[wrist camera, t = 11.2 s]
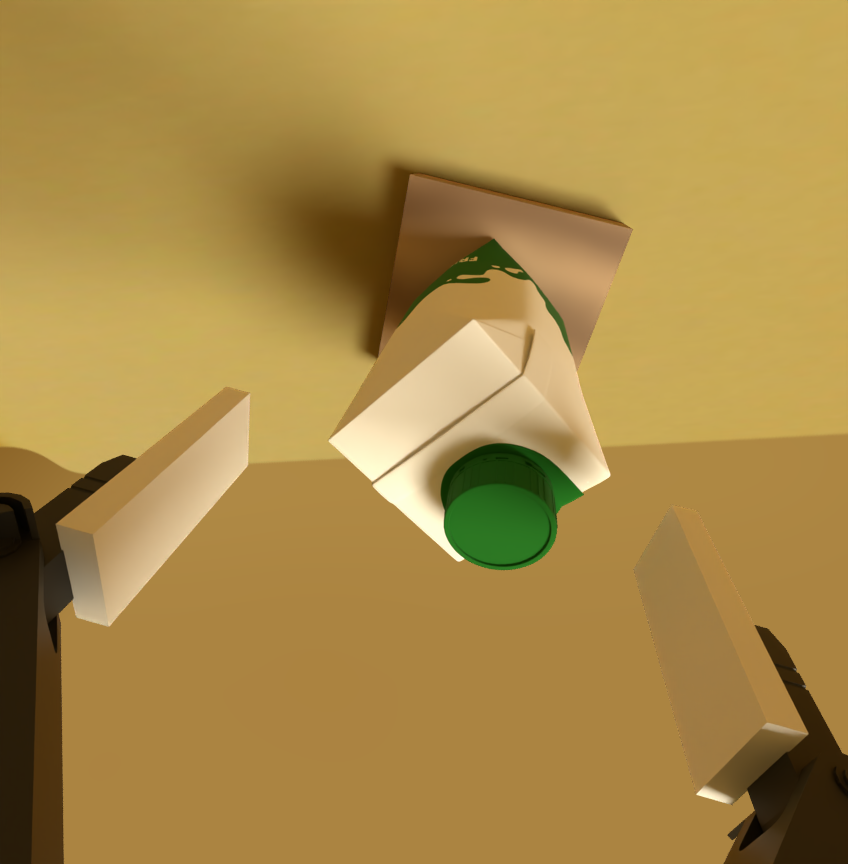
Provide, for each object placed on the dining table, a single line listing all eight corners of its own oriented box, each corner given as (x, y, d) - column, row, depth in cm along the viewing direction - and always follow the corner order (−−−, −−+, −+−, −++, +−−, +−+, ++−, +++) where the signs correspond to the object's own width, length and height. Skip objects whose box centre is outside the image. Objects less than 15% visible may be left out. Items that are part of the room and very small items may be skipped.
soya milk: (480, 397, 37) (451, 615, 20) (396, 306, 35) (281, 467, 18) (582, 322, 34) (650, 514, 16) (494, 213, 31) (468, 307, 14)
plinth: (420, 172, 35) (409, 174, 31) (621, 222, 34) (632, 229, 31) (386, 359, 42) (374, 378, 38) (552, 403, 41) (555, 426, 37)
